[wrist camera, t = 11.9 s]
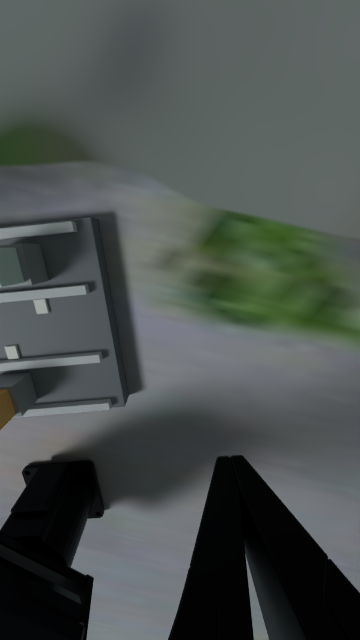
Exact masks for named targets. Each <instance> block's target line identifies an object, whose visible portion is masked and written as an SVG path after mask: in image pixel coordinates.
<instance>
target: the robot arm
mask: <svg viewBox="0 0 360 640" xmlns="http://www.w3.org/2000/svg"><path fill="white" fill-rule="evenodd" d="M22 475H23V477H24V480H25V483H26V487H25V489H24V491H23V492H22V494H21V495H20V497H19V498H18V500H17V501H16V503H15V504H14V506H13V507H12V509H11V514H10V516H9V517H8V519H7V520H6V522H5V524H4V525H3V527H2V528H1V530H0V640H86V638H87V629H88V621H89V613H90V604H91V596H92V588H93V579H94V578H93V577H92V576H90V575H88V574H87V575H84V574H82V573H80V572H78V571H76V570H74V569H73V568H71V565H72V562H73V559H74V556H75V553H76V550H77V547H78V545H79V542H80V539H81V536H82V533H83V530H84V527H85V524H86V521H87V519H89V518H100V517H102V516H103V514H104V506H103V501H102V497H101V493H100V489H99V485H98V480H97V476H96V472H95V468H94V464H93V463H92V462H91V461H78V462H64V463H51V464H38V465H27V466H26V467H25V468H24V469H23V471H22ZM245 554H246V557H247V561H248V564H249V568H250V572H251V575H252V579H253V583H254V586H255V590H256V593H257V597H258V601H259V604H260V608H261V611H262V615H263V619H264V622H265V626H266V630H267V633H268V637H269V640H360V593H359V592H358V590H357V589H356V588H355V587H354V586H353V585H352V584H351V582H350V581H349V580H348V579H347V578H346V577H345V576H344V574H343V573H342V572H341V571H340V570H339V568H338V567H337V566H336V565H335V564H334V563H333V561H332V560H331V559H328V556H327V554H326V553H325V552H324V551H323V550H322V549H321V547H320V546H319V545H318V544H317V543H316V541H315V540H314V539H313V538H312V537H311V536H310V534H309V533H308V532H307V531H306V530H305V528H304V527H303V526H302V525H301V524H300V523H299V521H298V520H297V519H296V518H295V517H294V515H293V514H292V513H291V512H290V511H289V510H288V508H287V507H286V506H285V505H284V504H283V502H282V501H281V500H280V499H279V498H278V497H277V495H276V494H275V493H274V492H273V491H272V489H271V488H270V487H269V486H268V485H267V484H266V482H265V481H264V480H263V479H262V478H261V476H260V475H259V474H258V473H257V472H256V471H255V469H254V468H253V467H252V466H251V465H250V463H249V462H248V461H247V460H246V459H245V458H244V456H242V455H232V456H230V457H229V456H219V457H217V459H216V463H215V467H214V471H213V475H212V479H211V483H210V487H209V491H208V495H207V499H206V503H205V507H204V511H203V515H202V519H201V523H200V527H199V531H198V535H197V539H196V543H195V547H194V551H193V555H192V559H191V563H190V568H189V570H188V574H187V578H186V582H185V586H184V590H183V593H182V597H181V600H180V604H179V607H178V611H177V614H176V617H175V620H174V623H173V626H172V629H171V632H170V635H169V638H168V640H254V638H253V628H252V617H251V607H250V597H249V587H248V577H247V567H246V557H245Z"/></svg>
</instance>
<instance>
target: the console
mask: <svg viewBox="0 0 360 640" xmlns="http://www.w3.org/2000/svg"><path fill="white" fill-rule="evenodd" d="M20 243H26V244H40V246H41V250H42V254H43V258H44V262H45V267H46V271H47V275H48V279H49V281H46V282H42V283H38V284H33V285H25V286H15V287H5V288H0V375H2V374H13V373H25V372H30V375H31V378H32V381H33V385H34V388H35V392H36V395H37V399H38V400H37V401H36V402H35V403H34V404H33V405H32V406H31V407H30V408H29V410H28V411H27V412H26V413H25V414H24V415H23V416H19V417H29V416H42V415H54V414H66V413H78V412H91V411H103V410H110V408H111V407H123V406H125V404H126V402H127V399H128V396H129V395H128V389H127V383H126V378H125V372H124V366H123V361H122V355H121V349H120V343H119V338H118V332H117V326H116V321H115V315H114V309H113V303H112V298H111V292H110V286H109V281H108V275H107V269H106V263H105V258H104V252H103V246H102V241H101V235H100V229H99V223H98V220H97V219H94V218H91V217H87V218H78V219H68V220H59V221H49V222H40V223H30V224H21V225H11V226H2V227H0V245H10V244H20ZM13 418H17V417H13Z"/></svg>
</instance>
